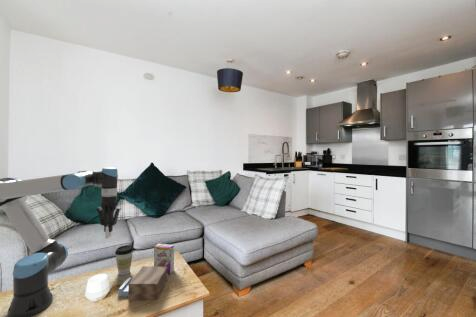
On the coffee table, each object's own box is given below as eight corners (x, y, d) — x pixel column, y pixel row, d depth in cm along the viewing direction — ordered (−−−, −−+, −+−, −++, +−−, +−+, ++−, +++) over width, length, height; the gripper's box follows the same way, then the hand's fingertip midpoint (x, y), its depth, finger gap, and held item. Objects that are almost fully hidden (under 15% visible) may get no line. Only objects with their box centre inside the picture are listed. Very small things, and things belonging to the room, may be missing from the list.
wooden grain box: (128, 300, 106) (128, 283, 106) (142, 280, 122) (142, 266, 122) (156, 300, 106) (156, 283, 106) (167, 280, 122) (167, 266, 122)
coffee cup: (125, 277, 125) (125, 252, 124) (111, 275, 127) (111, 250, 126) (136, 269, 134) (136, 245, 134) (123, 267, 136) (123, 244, 136)
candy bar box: (153, 272, 131) (153, 246, 130) (157, 268, 135) (158, 243, 135) (170, 274, 129) (170, 248, 128) (174, 270, 134) (174, 244, 133)
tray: (118, 297, 109) (118, 289, 109) (128, 285, 119) (128, 277, 119) (145, 297, 109) (145, 289, 109) (153, 285, 119) (153, 277, 119)
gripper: (93, 196, 115) (91, 239, 115) (117, 197, 115) (115, 240, 115) (101, 193, 122) (100, 234, 122) (124, 194, 122) (123, 235, 122)
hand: (108, 237), depth 119 cm, fingers closed
